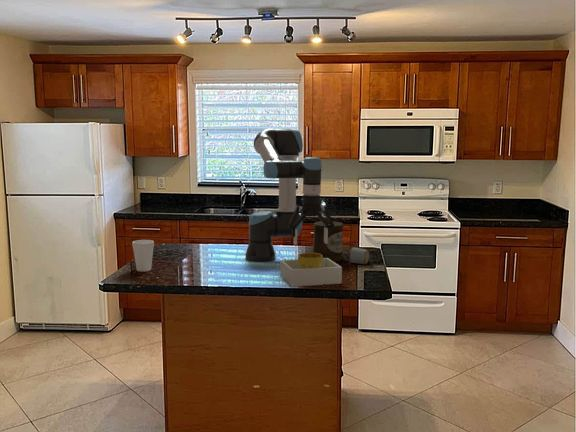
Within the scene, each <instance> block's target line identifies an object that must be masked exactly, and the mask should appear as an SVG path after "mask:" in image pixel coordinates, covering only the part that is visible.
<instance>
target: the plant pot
mask: <svg viewBox="0 0 576 432" xmlns="http://www.w3.org/2000/svg"><path fill="white" fill-rule="evenodd" d="M297 256H298V257H297V258H298V261H299V263H300V266H301V269H308V268H320V266H321V264H322V261H323V256H322V255H321V254H318V253H313V252H304V253H303V252H302V253H299V254H298V255H297Z"/></svg>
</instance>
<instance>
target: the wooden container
mask: <svg viewBox="0 0 576 432" xmlns="http://www.w3.org/2000/svg"><path fill="white" fill-rule="evenodd" d="M330 217H331V219H332V220H333V218H332V216H331V215H330ZM324 219H325V220H326V222H327V223H328V224H329V222H328V220H327V218H326V216H325V217H324ZM333 223H334V227H331V228H330V235H329V236H328V243H327V244H325V243H324V228H326V226H325V225H324V224H323V223H322V221H321V220H320V221H316V222H314V223H313V238H312V241H313V242H312V253H318V254H321V255H322V256H323V258H328V259H330V260H332V261H333V262H335V263H336V262H340V261H342V260H343V246H344V245H343V239H344V238H343V236H344V235H343V234H344V233H343V231H344V223H343V222H339V221H333Z"/></svg>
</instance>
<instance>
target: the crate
mask: <svg viewBox="0 0 576 432" xmlns="http://www.w3.org/2000/svg"><path fill="white" fill-rule="evenodd" d="M279 266H280V267H279V269H280V271H279V274H280V275H279V276H280V278H282V279H283V280H284V281H285V282H286V283H287V284H288V285H289V286H290V287H302V286H303V287H305V286H306V287H307V286H308V287H309V286H323V285H324V284H325V285H337V284H338V285H339V284H342V283H343V282H342V280H343V279H342V278H343V276H342V275H343V273H342V272H343V267H342V266H341V265H340V264H338V263H336V261H335V262H333V261H332V260H330V259H328V258H323V261H322V264H321V266H320V268H308V269H301V266H300V263H299V261H298V259H296V258H295V259H281V260H280V263H279Z"/></svg>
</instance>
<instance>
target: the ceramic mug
mask: <svg viewBox="0 0 576 432" xmlns="http://www.w3.org/2000/svg"><path fill="white" fill-rule="evenodd" d="M369 259H370V252H369V250H368V249H365V248H361V247H360V248H358V247H354V246H353V247H352V248H351V249H350V252H349V262H350V263H352V264H357V265H366V264H368V263H369Z"/></svg>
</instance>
